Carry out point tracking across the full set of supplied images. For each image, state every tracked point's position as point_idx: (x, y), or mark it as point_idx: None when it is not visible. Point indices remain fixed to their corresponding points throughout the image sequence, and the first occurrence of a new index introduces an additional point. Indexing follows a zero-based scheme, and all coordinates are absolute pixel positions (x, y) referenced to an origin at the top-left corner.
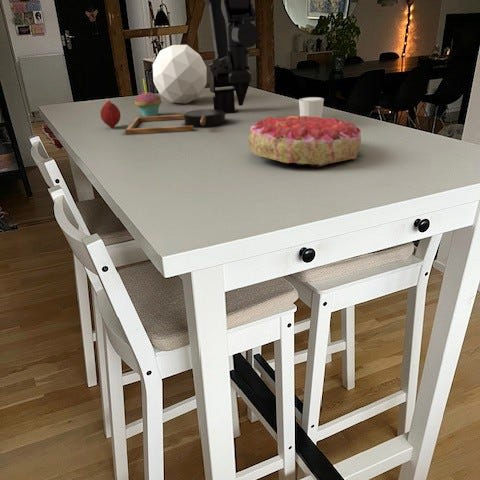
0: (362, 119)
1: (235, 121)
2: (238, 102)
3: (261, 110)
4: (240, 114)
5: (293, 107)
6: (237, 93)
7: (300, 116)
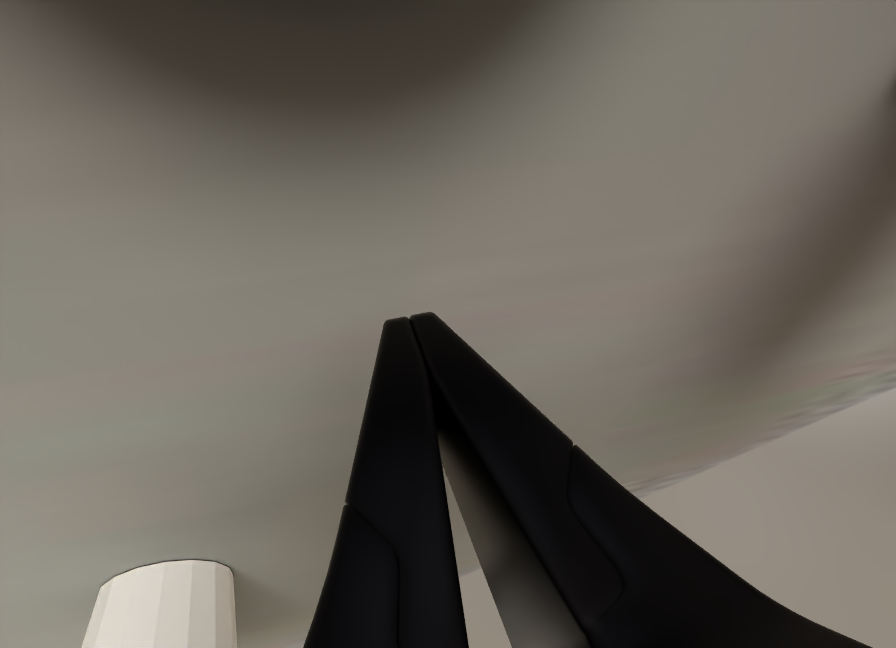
0: None
1: (379, 123)
2: (378, 357)
3: (788, 292)
4: (770, 141)
5: (723, 421)
6: (343, 539)
7: (112, 640)
